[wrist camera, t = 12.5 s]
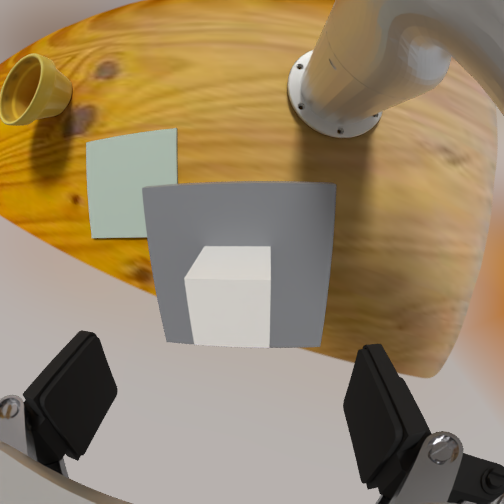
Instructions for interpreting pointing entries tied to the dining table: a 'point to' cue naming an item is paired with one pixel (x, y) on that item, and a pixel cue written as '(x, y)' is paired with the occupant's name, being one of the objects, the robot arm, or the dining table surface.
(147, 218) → the lid
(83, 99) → the dining table surface
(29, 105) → the plant pot
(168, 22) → the dining table surface
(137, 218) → the mat
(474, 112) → the dining table surface
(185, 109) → the dining table surface
